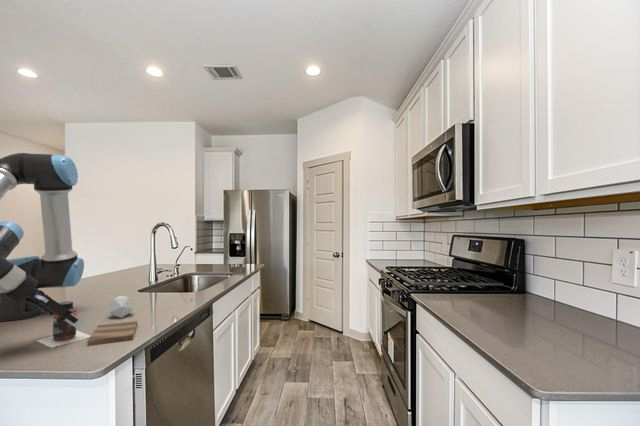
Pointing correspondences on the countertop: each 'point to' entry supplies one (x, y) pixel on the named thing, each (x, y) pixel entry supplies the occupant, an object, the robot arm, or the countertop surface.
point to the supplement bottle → (63, 324)
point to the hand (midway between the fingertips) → (77, 324)
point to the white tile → (53, 343)
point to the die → (120, 306)
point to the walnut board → (113, 333)
